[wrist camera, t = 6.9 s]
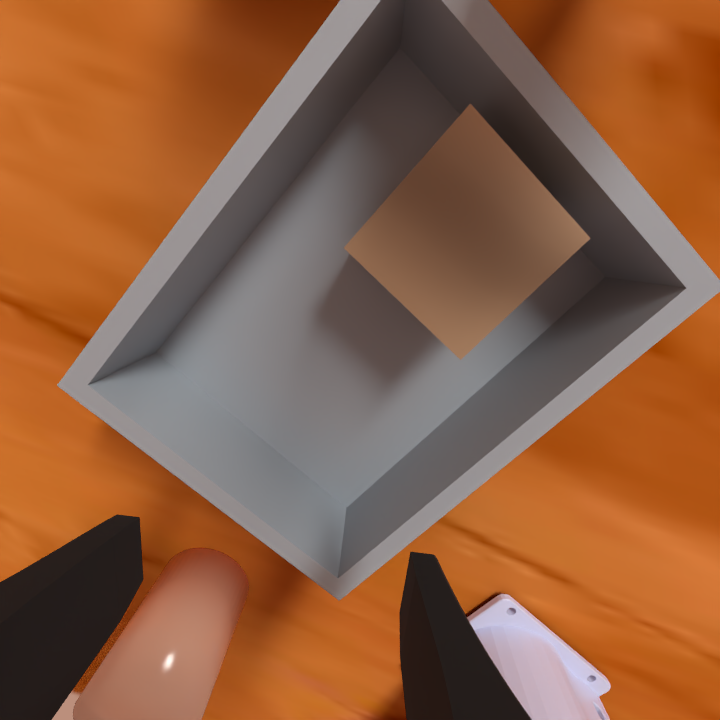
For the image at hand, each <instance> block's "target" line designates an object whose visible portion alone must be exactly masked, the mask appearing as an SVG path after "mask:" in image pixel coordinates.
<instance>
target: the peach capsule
mask: <svg viewBox="0 0 720 720" xmlns="http://www.w3.org/2000/svg"><path fill="white" fill-rule="evenodd" d="M248 592H249V583H248V579H247V576H246V574H245V572H244V570H243V569H242V568H241V566H240V565H239V564H238V563H237V562H236V561H234V560H233V559H232V558H230V557H229V556H227V555H225V554H224V553H221V552H219V551H216V550H212V549H207V548H193V549H188V550H184V551H182V552H180V553H178V554H176V555H175V556H174V557H173V558H172V559H171V560H170V561H169V562H168V564H167V565H166V567H165V568H164V570H163V571H162V573H161V574H160V576H159V577H158V579H157V580H156V582H155V583H154V585H153V586H152V588H151V589H150V591H149V592H148V594H147V595H146V597H145V598H144V600H143V601H142V603H141V604H140V606H139V608H138V609H137V611H136V612H135V614H134V615H133V617H132V618H131V620H130V621H129V623H128V624H127V626H126V627H125V629H124V630H123V632H122V633H121V635H120V636H119V638H118V639H117V641H116V642H115V644H114V645H113V647H112V648H111V650H110V651H109V653H108V654H107V656H106V657H105V659H104V660H103V662H102V663H101V665H100V666H99V668H98V669H97V671H96V672H95V674H94V675H93V677H92V678H91V680H90V681H89V683H88V684H87V686H86V688H85V689H84V691H83V692H82V694H81V695H80V697H79V698H78V700H77V701H76V703H75V706H74V710H73V719H74V720H201V719H202V717H203V714H204V711H205V709H206V706H207V703H208V700H209V698H210V695H211V692H212V690H213V687H214V684H215V682H216V679H217V676H218V674H219V671H220V668H221V666H222V663H223V660H224V658H225V655H226V652H227V650H228V647H229V644H230V641H231V639H232V636H233V633H234V631H235V628H236V625H237V623H238V620H239V617H240V615H241V612H242V609H243V607H244V604H245V601H246V599H247V596H248Z"/></svg>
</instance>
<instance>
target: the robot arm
mask: <svg viewBox="0 0 720 720" xmlns="http://www.w3.org/2000/svg"><path fill="white" fill-rule="evenodd" d="M142 581H143V566H142V550H141V533H140V517H132V516H124V515H115V516H114V517H112V518H110V519H108V520H106V521H105V522H103V523H101V524H99V525H98V526H96V527H94V528H93V529H91V530H89V531H87V532H86V533H84V534H82V535H81V536H79V537H77V538H76V539H74V540H72V541H71V542H69V543H67V544H66V545H64V546H62V547H61V548H59V549H57V550H56V551H54V552H52V553H50V554H49V555H47V556H45V557H44V558H42V559H40V560H39V561H37V562H35V563H33V564H32V565H30V566H28V567H27V568H25V569H23V570H22V571H20V572H18V573H16V574H14V575H13V576H11V577H9V578H7V579H5V580H4V581H2V582H0V720H52V718H53V717H54V715H55V714H56V712H57V711H58V710H59V708H60V707H61V705H62V704H63V703H64V701H65V699H66V698H67V697H68V695H69V694H70V693H71V691H72V690H73V688H74V687H75V685H76V684H77V683H78V681H79V680H80V678H81V677H82V675H83V674H84V673H85V671H86V670H87V668H88V667H89V666H90V664H91V663H92V661H93V660H94V658H95V657H96V656H97V654H98V653H99V651H100V650H101V648H102V647H103V645H104V644H105V643H106V641H107V640H108V638H109V637H110V635H111V634H112V632H113V631H114V629H115V628H116V627H117V625H118V624H119V622H120V621H121V619H122V617H123V615H124V614H125V612H126V610H127V608H128V607H129V605H130V603H131V601H132V599H133V597H134V596H135V594H136V592H137V590H138V588H139V586H140V584H141V583H142ZM509 608H510V609H509ZM400 660H401V670H402V680H403V690H404V699H405V709H406V718H407V720H610V719H609V716H608V714H607V712H606V710H605V708H604V706H603V704H602V702H601V700H600V698H599V696H601V695H602V694H604V693H606V692H607V691H609V689H610V683H609V681H608V679H607V678H606V677H605V676H604V675H603V674H602V673H600V672H599V671H598V670H597V669H596V668H595V667H593V666H592V665H591V664H590V663H589V662H587V661H586V660H585V659H584V658H583V657H582V656H580V655H579V654H578V653H577V652H576V651H574V650H573V649H572V648H571V647H570V646H569V645H567V644H566V643H565V642H564V641H563V640H562V639H560V638H559V637H558V636H557V635H556V634H554V633H553V632H552V631H551V630H550V629H549V628H547V627H546V626H545V625H544V624H543V623H541V622H540V621H539V620H538V619H537V618H536V617H534V616H533V615H532V614H531V613H530V612H528V611H527V610H526V609H525V608H524V607H523V606H521V605H520V604H519V603H518V602H517V601H516V600H514V599H513V598H512V597H511V596H509V595H508V594H500V595H498V596H496V597H495V598H493V599H492V600H491V601H489V602H488V603H486V604H485V605H484V606H482V607H481V608H479V609H478V610H477V611H475V612H474V613H472V614H471V615H470V616H468V617H466V615H465V613H464V611H463V610H462V608H461V606H460V604H459V602H458V600H457V598H456V596H455V595H454V593H453V591H452V589H451V587H450V585H449V583H448V581H447V579H446V577H445V575H444V573H443V570H442V568H441V566H440V564H439V562H438V560H437V558H436V557H435V555H432V554H424V553H416V552H410V558H409V563H408V569H407V575H406V580H405V586H404V591H403V597H402V602H401V608H400Z"/></svg>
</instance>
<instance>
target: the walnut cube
mask: <svg viewBox="0 0 720 720" xmlns="http://www.w3.org/2000/svg"><path fill="white" fill-rule="evenodd" d="M589 239H590V237H589V236H588V235H587V234H586V233H585V231H584V230H583V229H582V228H581V227H580V226H579V225H578V224H577V222H576V221H575V220H574V219H573V218H572V217H571V216H570V215H569V213H568V212H567V211H566V210H565V209H564V208H563V207H562V206H561V205H560V203H559V202H558V201H557V200H556V199H555V198H554V197H553V196H552V194H551V193H550V192H549V191H548V190H547V189H546V188H545V187H544V185H543V184H542V183H541V182H540V181H539V180H538V179H537V178H536V176H535V175H534V174H533V173H532V172H531V171H530V170H529V169H528V167H527V166H526V165H525V164H524V163H523V162H522V161H521V160H520V159H519V157H518V156H517V155H516V154H515V153H514V152H513V151H512V150H511V148H510V147H509V146H508V145H507V144H506V143H505V142H504V141H503V139H502V138H501V137H500V136H499V135H498V134H497V133H496V132H495V130H494V129H493V128H492V127H491V126H490V125H489V124H488V123H487V121H486V120H485V119H484V118H483V117H482V116H481V115H480V114H479V112H478V111H477V110H476V109H475V108H474V107H473V106H472V105H471V104H469V106H468V107H467V108H466V109H465V110H464V111H463V112H462V114H461V115H460V116H459V117H458V118H457V119H456V120H455V122H454V123H453V124H452V125H451V126H450V127H449V128H448V129H447V131H446V132H445V133H444V134H443V135H442V136H441V137H440V139H439V140H438V141H437V142H436V143H435V144H434V145H433V147H432V148H431V149H430V150H429V151H428V152H427V153H426V155H425V156H424V157H423V158H422V159H421V160H420V161H419V163H418V164H417V165H416V166H415V167H414V168H413V169H412V171H411V172H410V173H409V174H408V175H407V176H406V177H405V178H404V180H403V181H402V182H401V183H400V184H399V185H398V186H397V188H396V189H395V190H394V191H393V192H392V193H391V194H390V196H389V197H388V198H387V199H386V200H385V201H384V202H383V204H382V205H381V206H380V207H379V208H378V209H377V210H376V212H375V213H374V214H373V215H372V216H371V217H370V218H369V220H368V221H367V222H366V223H365V224H364V225H363V226H362V227H361V229H360V230H359V231H358V232H357V233H356V234H355V235H354V237H353V238H352V239H351V240H350V241H349V242H348V243H347V245H346V246H345V247H344V249H345V250H346V251H347V252H348V253H349V254H351V255H352V256H353V257H354V258H355V259H356V260H357V261H358V262H359V263H360V264H361V265H362V266H363V267H364V268H365V269H366V270H367V271H368V272H369V273H370V274H371V275H372V276H373V277H375V278H376V279H377V280H378V281H379V282H380V283H381V284H382V285H383V286H384V287H385V288H386V289H387V290H388V291H389V292H390V293H391V294H392V295H393V296H394V297H395V298H396V299H397V300H399V301H400V302H401V303H402V304H403V305H404V306H405V307H406V308H407V309H408V310H409V311H410V312H411V313H412V314H413V315H414V316H415V317H416V318H417V319H418V320H419V321H420V322H421V323H422V324H424V325H425V326H426V327H427V328H428V329H429V330H430V331H431V332H432V333H433V334H434V335H435V336H436V337H437V338H438V339H439V340H440V341H441V342H442V343H443V344H444V345H445V346H446V347H448V348H449V349H450V350H451V351H452V352H453V353H454V354H455V355H456V356H457V357H458V358H459V359H460V360H461V359H462V358H463V357H464V356H465V355H467V354H468V353H469V352H470V351H471V350H472V349H473V348H474V347H475V346H476V345H477V344H478V343H479V342H480V341H481V340H483V339H484V338H485V337H486V336H487V335H488V334H489V333H490V332H491V331H492V330H493V329H494V328H495V327H496V326H498V325H499V324H500V323H501V322H502V321H503V320H504V319H505V318H506V317H507V316H508V315H509V314H510V313H511V312H512V311H514V310H515V309H516V308H517V307H518V306H519V305H520V304H521V303H522V302H523V301H524V300H525V299H526V298H527V297H528V296H530V295H531V294H532V293H533V292H534V291H535V290H536V289H537V288H538V287H539V286H540V285H541V284H542V283H543V282H545V281H546V280H547V279H548V278H549V277H550V276H551V275H552V274H553V273H554V272H555V271H556V270H557V269H558V268H559V267H561V266H562V265H563V264H564V263H565V262H566V261H567V260H568V259H569V258H570V257H571V256H572V255H573V254H574V253H576V252H577V251H578V250H579V249H580V248H581V247H582V246H583V245H584V244H585V243H586V242H587V241H588V240H589Z"/></svg>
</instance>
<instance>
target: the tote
mask: <svg viewBox="0 0 720 720" xmlns="http://www.w3.org/2000/svg"><path fill="white" fill-rule="evenodd" d="M469 104H471V105H472V106H473V107H474V108H475V109H476V110H477V111H478V112H479V114H480V115H481V116H482V117H483V118H484V119H485V120H486V121H487V123H488V124H489V125H490V126H491V127H492V128H493V129H494V130H495V132H496V133H497V134H498V135H499V136H500V137H501V138H502V139H503V141H504V142H505V143H506V144H507V145H508V146H509V147H510V148H511V150H512V151H513V152H514V153H515V154H516V155H517V156H518V157H519V159H520V160H521V161H522V162H523V163H524V164H525V165H526V166H527V167H528V169H529V170H530V171H531V172H532V173H533V174H534V175H535V176H536V178H537V179H538V180H539V181H540V182H541V183H542V184H543V185H544V187H545V188H546V189H547V190H548V191H549V192H550V193H551V194H552V196H553V197H554V198H555V199H556V200H557V201H558V202H559V203H560V205H561V206H562V207H563V208H564V209H565V210H566V211H567V212H568V213H569V215H570V216H571V217H572V218H573V219H574V220H575V221H576V222H577V224H578V225H579V226H580V227H581V228H582V229H583V230H584V231H585V233H586V234H587V235H588V236H589V237H590V239H589V240H588V241H587V242H586V243H585V244H584V245H583V246H582V247H581V248H580V249H579V250H578V251H577V252H576V253H574V254H573V255H572V256H571V257H570V258H569V259H568V260H567V261H566V262H565V263H564V264H563V265H562V266H561V267H559V268H558V269H557V270H556V271H555V272H554V273H553V274H552V275H551V276H550V277H549V278H548V279H547V280H546V281H545V282H543V283H542V284H541V285H540V286H539V287H538V288H537V289H536V290H535V291H534V292H533V293H532V294H531V295H530V296H528V297H527V298H526V299H525V300H524V301H523V302H522V303H521V304H520V305H519V306H518V307H517V308H516V309H515V310H514V311H512V312H511V313H510V314H509V315H508V316H507V317H506V318H505V319H504V320H503V321H502V322H501V323H500V324H499V325H498V326H496V327H495V328H494V329H493V330H492V331H491V332H490V333H489V334H488V335H487V336H486V337H485V338H484V339H483V340H481V341H480V342H479V343H478V344H477V345H476V346H475V347H474V348H473V349H472V350H471V351H470V352H469V353H468V354H467V355H465V356H464V357H463V358H462V359H461V360H460V359H459V358H458V357H457V356H456V355H455V354H454V353H453V352H452V351H451V350H450V349H449V348H448V347H446V346H445V345H444V344H443V343H442V342H441V341H440V340H439V339H438V338H437V337H436V336H435V335H434V334H433V333H432V332H431V331H430V330H429V329H428V328H427V327H426V326H425V325H424V324H422V323H421V322H420V321H419V320H418V319H417V318H416V317H415V316H414V315H413V314H412V313H411V312H410V311H409V310H408V309H407V308H406V307H405V306H404V305H403V304H402V303H401V302H400V301H399V300H397V299H396V298H395V297H394V296H393V295H392V294H391V293H390V292H389V291H388V290H387V289H386V288H385V287H384V286H383V285H382V284H381V283H380V282H379V281H378V280H377V279H376V278H375V277H373V276H372V275H371V274H370V273H369V272H368V271H367V270H366V269H365V268H364V267H363V266H362V265H361V264H360V263H359V262H358V261H357V260H356V259H355V258H354V257H353V256H352V255H351V254H349V253H348V252H347V251H346V250H345V249H344V247H345V246H346V245H347V243H348V242H349V241H350V240H351V239H352V238H353V237H354V235H355V234H356V233H357V232H358V231H359V230H360V229H361V227H362V226H363V225H364V224H365V223H366V222H367V221H368V220H369V218H370V217H371V216H372V215H373V214H374V213H375V212H376V210H377V209H378V208H379V207H380V206H381V205H382V204H383V202H384V201H385V200H386V199H387V198H388V197H389V196H390V194H391V193H392V192H393V191H394V190H395V189H396V188H397V186H398V185H399V184H400V183H401V182H402V181H403V180H404V178H405V177H406V176H407V175H408V174H409V173H410V172H411V171H412V169H413V168H414V167H415V166H416V165H417V164H418V163H419V161H420V160H421V159H422V158H423V157H424V156H425V155H426V153H427V152H428V151H429V150H430V149H431V148H432V147H433V145H434V144H435V143H436V142H437V141H438V140H439V139H440V137H441V136H442V135H443V134H444V133H445V132H446V131H447V129H448V128H449V127H450V126H451V125H452V124H453V123H454V122H455V120H456V119H457V118H458V117H459V116H460V115H461V114H462V112H463V111H464V110H465V109H466V108H467V107H468V106H469ZM719 292H720V280H719V279H718V278H717V277H716V275H715V274H714V273H713V272H712V270H711V269H710V268H709V267H708V266H707V264H706V263H705V262H704V261H703V260H702V258H701V257H700V256H699V255H698V254H697V252H696V251H695V250H694V249H693V248H692V246H691V245H690V244H689V243H688V241H687V240H686V239H685V238H684V237H683V235H682V234H681V233H680V232H679V231H678V229H677V228H676V227H675V226H674V225H673V223H672V222H671V221H670V220H669V218H668V217H667V216H666V215H665V214H664V212H663V211H662V210H661V209H660V208H659V206H658V205H657V204H656V203H655V202H654V200H653V199H652V198H651V197H650V196H649V194H648V193H647V192H646V191H645V189H644V188H643V187H642V186H641V185H640V183H639V182H638V181H637V180H636V179H635V177H634V176H633V175H632V174H631V173H630V171H629V170H628V169H627V168H626V167H625V165H624V164H623V163H622V162H621V160H620V159H619V158H618V157H617V156H616V154H615V153H614V152H613V151H612V150H611V148H610V147H609V146H608V145H607V144H606V142H605V141H604V140H603V139H602V138H601V136H600V135H599V134H598V133H597V131H596V130H595V129H594V128H593V127H592V125H591V124H590V123H589V122H588V121H587V119H586V118H585V117H584V116H583V115H582V113H581V112H580V111H579V110H578V108H577V107H576V106H575V105H574V104H573V102H572V101H571V100H570V99H569V98H568V96H567V95H566V94H565V93H564V92H563V90H562V89H561V88H560V87H559V86H558V84H557V83H556V82H555V81H554V79H553V78H552V77H551V76H550V75H549V73H548V72H547V71H546V70H545V69H544V67H543V66H542V65H541V64H540V63H539V61H538V60H537V59H536V58H535V57H534V55H533V54H532V53H531V52H530V50H529V49H528V48H527V47H526V46H525V44H524V43H523V42H522V41H521V40H520V38H519V37H518V36H517V35H516V34H515V32H514V31H513V30H512V29H511V28H510V26H509V25H508V24H507V23H506V21H505V20H504V19H503V18H502V17H501V15H500V14H499V13H498V12H497V11H496V9H495V8H494V7H493V6H492V5H491V3H490V2H489V1H488V0H340V1H339V3H338V4H337V5H336V7H335V8H334V9H333V11H332V12H331V14H330V15H329V16H328V18H327V19H326V20H325V22H324V23H323V24H322V26H321V27H320V29H319V30H318V31H317V33H316V34H315V35H314V37H313V38H312V39H311V41H310V42H309V43H308V45H307V46H306V48H305V49H304V50H303V52H302V53H301V54H300V56H299V57H298V58H297V60H296V61H295V63H294V64H293V65H292V67H291V68H290V69H289V71H288V72H287V73H286V75H285V76H284V77H283V79H282V80H281V82H280V83H279V84H278V86H277V87H276V88H275V90H274V91H273V92H272V94H271V95H270V97H269V98H268V99H267V101H266V102H265V103H264V105H263V106H262V107H261V109H260V110H259V111H258V113H257V114H256V116H255V117H254V118H253V120H252V121H251V122H250V124H249V125H248V126H247V128H246V129H245V131H244V132H243V133H242V135H241V136H240V137H239V139H238V140H237V141H236V143H235V144H234V146H233V147H232V148H231V150H230V151H229V152H228V154H227V155H226V156H225V158H224V159H223V160H222V162H221V163H220V165H219V166H218V167H217V169H216V170H215V171H214V173H213V174H212V175H211V177H210V178H209V180H208V181H207V182H206V184H205V185H204V186H203V188H202V189H201V190H200V192H199V193H198V194H197V196H196V197H195V199H194V200H193V201H192V203H191V204H190V205H189V207H188V208H187V209H186V211H185V212H184V214H183V215H182V216H181V218H180V219H179V220H178V222H177V223H176V224H175V226H174V227H173V228H172V230H171V231H170V233H169V234H168V235H167V237H166V238H165V239H164V241H163V242H162V243H161V245H160V246H159V248H158V249H157V250H156V252H155V253H154V254H153V256H152V257H151V258H150V260H149V261H148V263H147V264H146V265H145V267H144V268H143V269H142V271H141V272H140V273H139V275H138V276H137V277H136V279H135V280H134V282H133V283H132V284H131V286H130V287H129V288H128V290H127V291H126V292H125V294H124V295H123V297H122V298H121V299H120V301H119V302H118V303H117V305H116V306H115V307H114V309H113V310H112V311H111V313H110V314H109V316H108V317H107V318H106V320H105V321H104V322H103V324H102V325H101V326H100V328H99V329H98V331H97V332H96V333H95V335H94V336H93V337H92V339H91V340H90V341H89V343H88V344H87V346H86V347H85V348H84V350H83V351H82V352H81V354H80V355H79V356H78V358H77V359H76V360H75V362H74V363H73V365H72V366H71V367H70V369H69V370H68V371H67V373H66V374H65V375H64V377H63V378H62V380H61V381H60V382H59V384H58V385H57V386H58V387H60V388H61V389H62V390H64V391H65V392H66V393H67V394H69V395H70V396H71V397H73V398H74V399H75V400H77V401H78V402H79V403H81V404H82V405H83V406H85V407H86V408H87V409H88V410H90V411H91V412H92V413H94V414H95V415H96V416H98V417H99V418H100V419H102V420H103V421H104V422H106V423H107V424H108V425H109V426H111V427H112V428H113V429H115V430H116V431H117V432H119V433H120V434H121V435H123V436H124V437H125V438H127V439H128V440H129V441H130V442H132V443H133V444H134V445H136V446H137V447H138V448H140V449H141V450H142V451H144V452H145V453H146V454H148V455H149V456H150V457H151V458H153V459H154V460H155V461H157V462H158V463H159V464H161V465H162V466H163V467H165V468H166V469H167V470H169V471H170V472H171V473H172V474H174V475H175V476H176V477H178V478H179V479H180V480H182V481H183V482H184V483H186V484H187V485H188V486H190V487H191V488H192V489H193V490H195V491H196V492H197V493H199V494H200V495H201V496H203V497H204V498H205V499H207V500H208V501H209V502H211V503H212V504H213V505H214V506H216V507H217V508H218V509H220V510H221V511H222V512H224V513H225V514H226V515H228V516H229V517H230V518H232V519H233V520H234V521H235V522H237V523H238V524H239V525H241V526H242V527H243V528H245V529H246V530H247V531H249V532H250V533H251V534H253V535H254V536H255V537H256V538H258V539H259V540H260V541H262V542H263V543H264V544H266V545H267V546H268V547H270V548H271V549H272V550H274V551H275V552H276V553H277V554H279V555H280V556H281V557H283V558H284V559H285V560H287V561H288V562H289V563H291V564H292V565H293V566H295V567H296V568H297V569H298V570H300V571H301V572H302V573H304V574H305V575H306V576H308V577H309V578H310V579H312V580H313V581H314V582H316V583H317V584H318V585H319V586H321V587H322V588H323V589H325V590H326V591H327V592H329V593H330V594H331V595H333V596H334V597H335V598H337V599H338V600H341V599H342V598H343V597H344V596H345V595H347V594H348V593H349V592H350V591H352V590H353V589H354V588H355V587H357V586H358V585H359V584H360V583H361V582H363V581H364V580H365V579H366V578H368V577H369V576H370V575H371V574H373V573H374V572H375V571H376V570H377V569H379V568H380V567H381V566H382V565H384V564H385V563H386V562H387V561H389V560H390V559H391V558H392V557H393V556H395V555H396V554H397V553H398V552H400V551H401V550H402V549H403V548H405V547H406V546H407V545H408V544H409V543H411V542H412V541H413V540H414V539H416V538H417V537H418V536H419V535H421V534H422V533H423V532H424V531H425V530H427V529H428V528H429V527H430V526H432V525H433V524H434V523H435V522H437V521H438V520H439V519H440V518H442V517H443V516H444V515H445V514H446V513H448V512H449V511H450V510H451V509H453V508H454V507H455V506H456V505H458V504H459V503H460V502H461V501H462V500H464V499H465V498H466V497H467V496H469V495H470V494H471V493H472V492H474V491H475V490H476V489H477V488H478V487H480V486H481V485H482V484H483V483H485V482H486V481H487V480H488V479H490V478H491V477H492V476H493V475H494V474H496V473H497V472H498V471H499V470H501V469H502V468H503V467H504V466H506V465H507V464H508V463H509V462H510V461H512V460H513V459H514V458H515V457H517V456H518V455H519V454H520V453H522V452H523V451H524V450H525V449H526V448H528V447H529V446H530V445H531V444H533V443H534V442H535V441H536V440H538V439H539V438H540V437H541V436H542V435H544V434H545V433H546V432H547V431H549V430H550V429H551V428H552V427H554V426H555V425H556V424H557V423H558V422H560V421H561V420H562V419H563V418H565V417H566V416H567V415H568V414H570V413H571V412H572V411H573V410H574V409H576V408H577V407H578V406H579V405H581V404H582V403H583V402H584V401H586V400H587V399H588V398H589V397H590V396H592V395H593V394H594V393H595V392H597V391H598V390H599V389H600V388H602V387H603V386H604V385H605V384H606V383H608V382H609V381H610V380H611V379H613V378H614V377H615V376H616V375H618V374H619V373H620V372H621V371H622V370H624V369H625V368H626V367H627V366H629V365H630V364H631V363H632V362H634V361H635V360H636V359H637V358H638V357H640V356H641V355H642V354H643V353H645V352H646V351H647V350H648V349H650V348H651V347H652V346H653V345H654V344H656V343H657V342H658V341H659V340H661V339H662V338H663V337H664V336H666V335H667V334H668V333H669V332H671V331H672V330H673V329H674V328H675V327H677V326H678V325H679V324H680V323H682V322H683V321H684V320H685V319H687V318H688V317H689V316H690V315H691V314H693V313H694V312H695V311H696V310H698V309H699V308H700V307H701V306H703V305H704V304H705V303H706V302H707V301H709V300H710V299H711V298H712V297H714V296H715V295H716V294H717V293H719Z"/></svg>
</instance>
